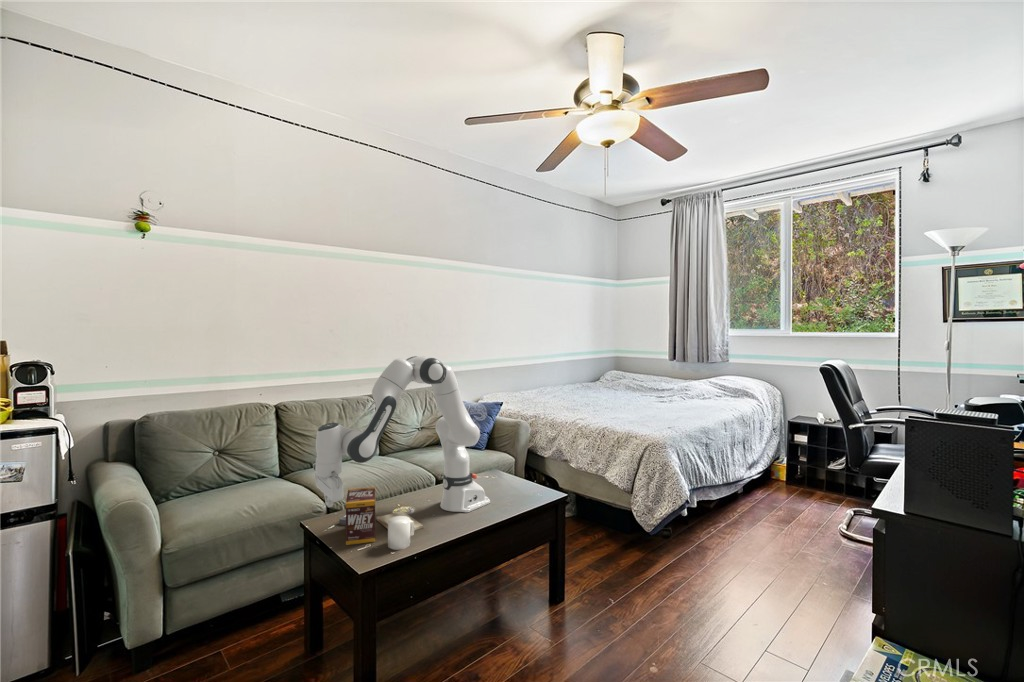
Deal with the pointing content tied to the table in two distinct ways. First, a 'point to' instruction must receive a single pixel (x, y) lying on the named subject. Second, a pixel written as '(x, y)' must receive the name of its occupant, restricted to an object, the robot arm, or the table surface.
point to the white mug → (400, 532)
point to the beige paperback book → (385, 518)
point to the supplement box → (360, 516)
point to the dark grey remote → (342, 520)
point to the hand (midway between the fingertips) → (329, 505)
